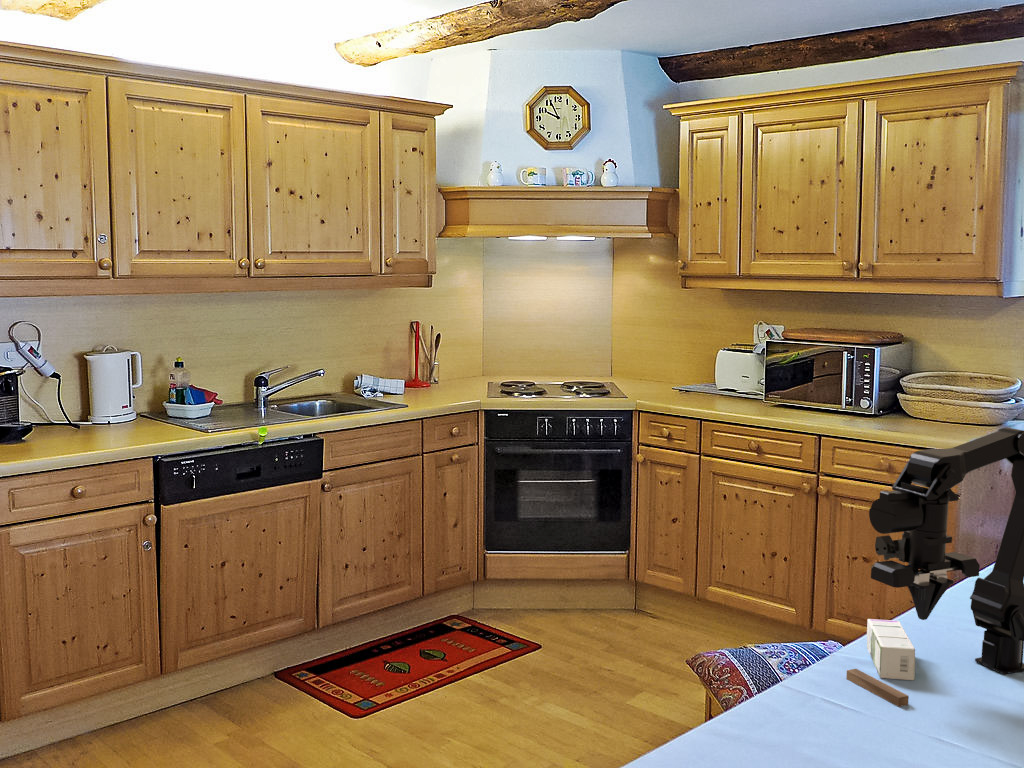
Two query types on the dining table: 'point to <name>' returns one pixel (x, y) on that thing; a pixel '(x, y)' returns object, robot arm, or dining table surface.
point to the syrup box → (890, 649)
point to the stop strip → (877, 687)
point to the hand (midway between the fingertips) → (922, 619)
